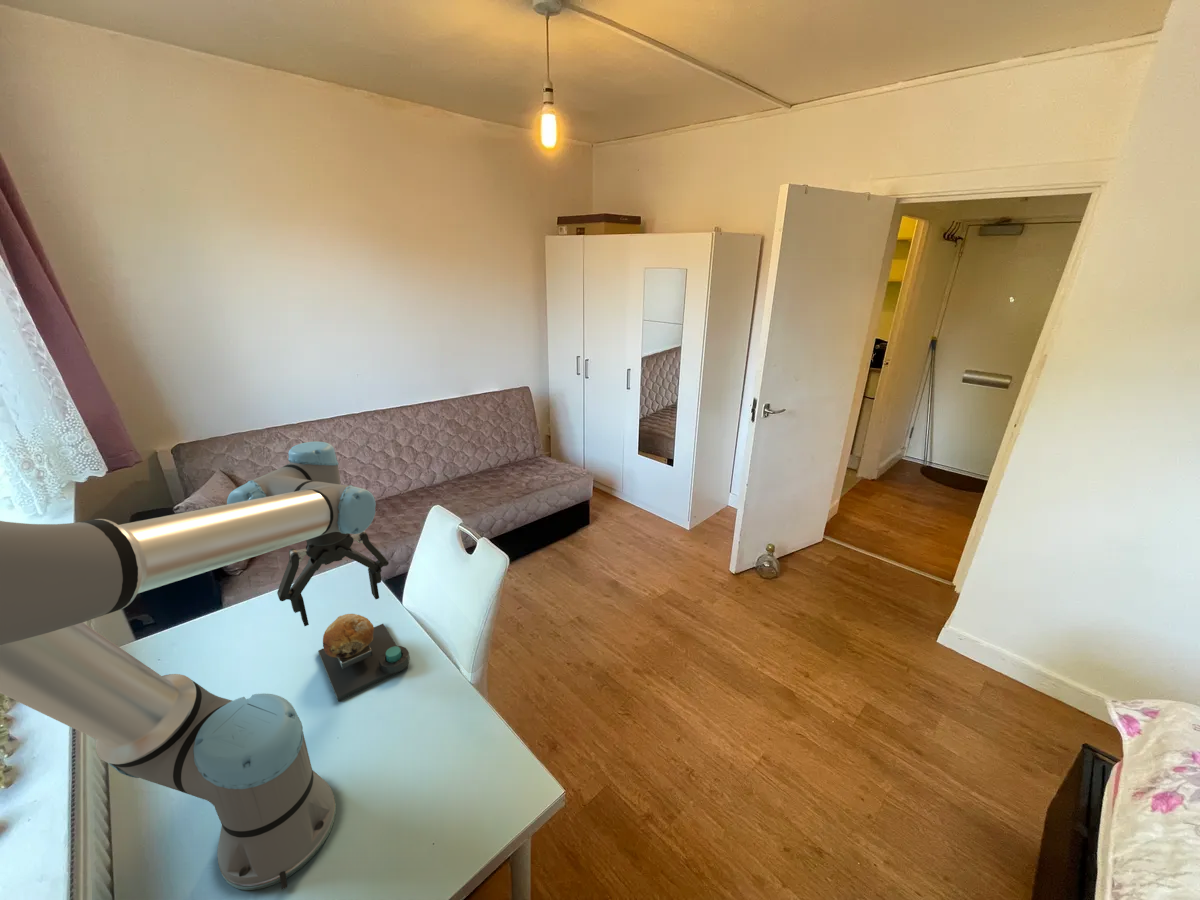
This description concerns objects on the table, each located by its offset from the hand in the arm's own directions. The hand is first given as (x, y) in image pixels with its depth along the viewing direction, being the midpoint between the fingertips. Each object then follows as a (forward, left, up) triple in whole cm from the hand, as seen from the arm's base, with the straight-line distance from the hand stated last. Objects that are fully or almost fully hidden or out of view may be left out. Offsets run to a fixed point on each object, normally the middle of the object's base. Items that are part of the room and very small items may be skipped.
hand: (341, 608), depth 103 cm
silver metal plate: (0, 0, -11) cm, 11 cm away
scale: (-2, -2, -14) cm, 14 cm away
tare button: (-8, -7, -12) cm, 15 cm away
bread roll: (0, 0, -10) cm, 10 cm away
